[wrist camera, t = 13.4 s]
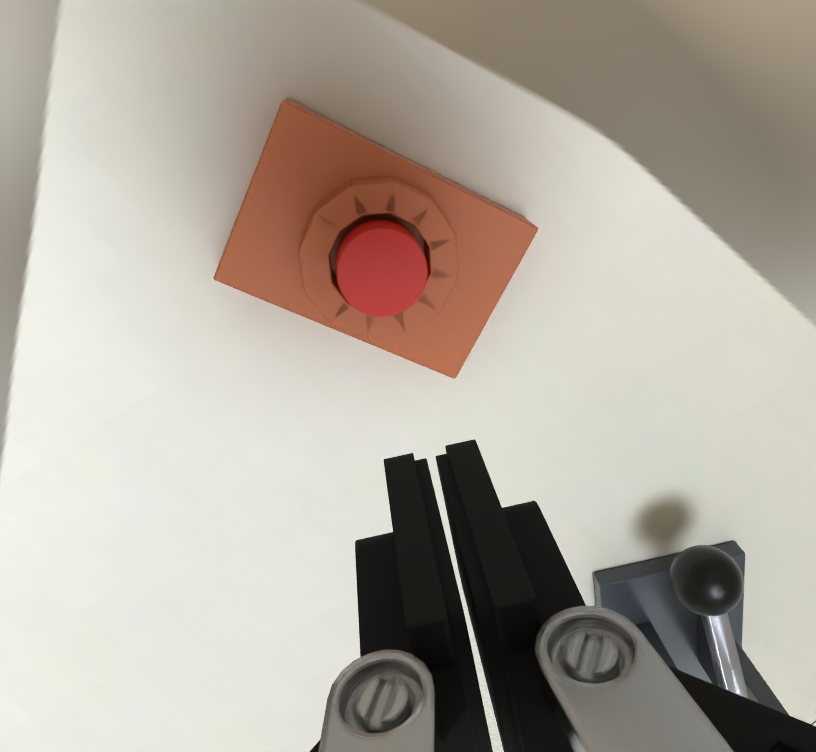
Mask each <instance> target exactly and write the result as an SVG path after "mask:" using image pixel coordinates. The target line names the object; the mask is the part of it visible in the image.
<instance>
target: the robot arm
mask: <svg viewBox="0 0 816 752" xmlns="http://www.w3.org/2000/svg"><path fill="white" fill-rule="evenodd" d="M446 453H447V454H443V455H439V456H436V461H437V466H438V471H439V476H440V481H441V486H442V491H443V495H444V500H445V505H446V510H447V515H448V520H449V525H450V530H451V535H452V540H453V545H454V549H455V554H456V559H457V564H458V569H459V574H460V578H461V583H462V587H463V591H464V595H465V599H466V603H467V607H468V611H469V615H470V619H471V623H472V627H473V631H474V635H475V639H476V642H477V646H478V650H479V654H480V658H481V662H482V666H483V670H484V674H485V678H486V682H487V686H488V690H489V694H490V698H491V702H492V706H493V710H494V714H495V718H496V722H497V726H498V730H499V734H500V737H501V741H502V745H503V749H504V752H816V727H815V726H813V725H811V724H808V723H806V722H803V721H801V720H798V719H796V718H794V717H791V716H789V715H786V714H784V713H781V712H779V711H777V710H774V709H772V708H769V707H767V706H765V705H762V704H760V703H757V702H755V701H752V700H750V699H748V698H745V697H743V696H740V695H738V694H735V693H733V692H731V691H728V690H726V689H723V688H721V687H718V686H716V685H714V684H711V683H709V682H706V681H704V680H702V679H699V678H697V677H694V676H692V675H689V674H687V673H685V672H682V671H680V670H677V669H675V668H672V667H670V666H668V665H666V663H665V662H664V661H663V659H662V658H661V657H660V656H659V654H658V653H657V652H656V650H655V649H654V648H653V647H652V645H651V644H650V643H649V641H648V640H647V639H646V638H645V636H644V635H643V634H642V632H641V631H640V630H639V629H638V628H637V627H636V626H635V625H634V624H633V623H632V622H631V621H630V620H629V619H628V618H626V617H625V616H623V615H621V614H619V613H617V612H615V611H613V610H610V609H606V608H602V607H598V606H586V605H585V603H584V601H583V599H582V596H581V594H580V592H579V590H578V588H577V586H576V584H575V582H574V580H573V577H572V575H571V573H570V571H569V569H568V567H567V565H566V563H565V561H564V558H563V556H562V554H561V552H560V550H559V548H558V546H557V544H556V542H555V539H554V537H553V535H552V533H551V531H550V529H549V527H548V525H547V523H546V520H545V518H544V516H543V514H542V512H541V510H540V508H539V506H538V504H537V503H536V502H535V501H531V502H527V503H522V504H518V505H513V506H509V507H504V508H502V507H501V505H500V502H499V500H498V497H497V494H496V492H495V489H494V487H493V484H492V481H491V479H490V476H489V474H488V471H487V469H486V466H485V463H484V461H483V458H482V456H481V453H480V451H479V448H478V445H477V443H476V441H475V440H470V441H465V442H460V443H456V444H451V445H447V446H446ZM384 466H385V474H386V481H387V489H388V496H389V504H390V511H391V519H392V526H393V532H392V533H387V534H383V535H378V536H374V537H369V538H365V539H360V540H356V542H355V553H356V573H357V594H358V614H359V634H360V654H361V657H360V658H358V659H356V660H354V661H353V662H352V663H351V664H350V665H348V666H347V667H346V668H345V669H344V670H343V671H342V672H341V673H340V674H339V676H338V677H337V679H336V680H335V681H334V683H333V684H332V687H331V690H330V693H329V696H328V699H327V705H326V710H325V716H324V722H323V728H322V734H321V740H320V741H319V742H318V743H317V744H316V745H315V746H314V747H313V749H312V750H311V751H310V752H493V751H492V746H491V741H490V736H489V731H488V726H487V722H486V717H485V712H484V707H483V702H482V697H481V692H480V688H479V683H478V678H477V673H476V668H475V663H474V659H473V654H472V649H471V644H470V639H469V634H468V630H467V625H466V620H465V616H464V611H463V607H462V603H461V599H460V594H459V590H458V586H457V582H456V578H455V574H454V570H453V566H452V562H451V558H450V553H449V549H448V545H447V541H446V537H445V533H444V529H443V525H442V521H441V516H440V512H439V508H438V504H437V500H436V496H435V492H434V488H433V484H432V480H431V475H430V471H429V467H428V463H427V459H426V458H425V459H421V460H416V461H415V460H414V455H413V453H411V454H406V455H401V456H397V457H392V458H388V459H384Z"/></svg>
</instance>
